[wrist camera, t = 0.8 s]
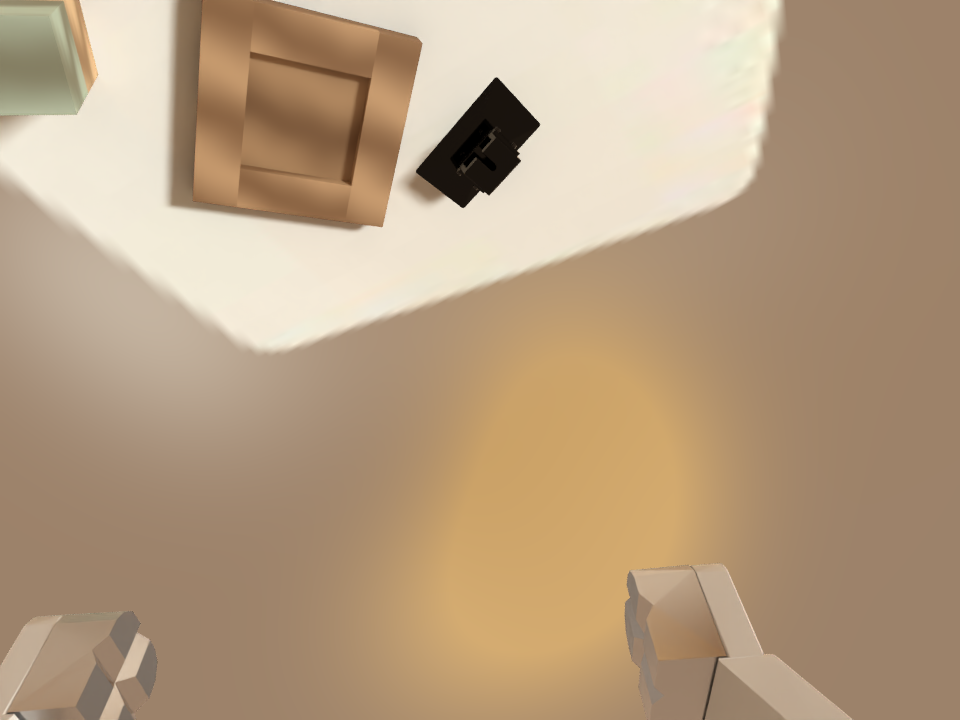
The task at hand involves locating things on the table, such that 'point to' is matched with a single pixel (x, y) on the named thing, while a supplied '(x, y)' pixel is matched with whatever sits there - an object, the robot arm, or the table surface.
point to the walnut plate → (299, 110)
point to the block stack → (44, 57)
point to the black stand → (480, 146)
